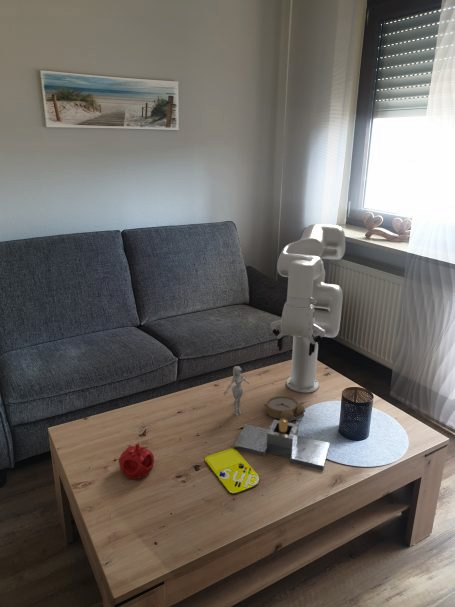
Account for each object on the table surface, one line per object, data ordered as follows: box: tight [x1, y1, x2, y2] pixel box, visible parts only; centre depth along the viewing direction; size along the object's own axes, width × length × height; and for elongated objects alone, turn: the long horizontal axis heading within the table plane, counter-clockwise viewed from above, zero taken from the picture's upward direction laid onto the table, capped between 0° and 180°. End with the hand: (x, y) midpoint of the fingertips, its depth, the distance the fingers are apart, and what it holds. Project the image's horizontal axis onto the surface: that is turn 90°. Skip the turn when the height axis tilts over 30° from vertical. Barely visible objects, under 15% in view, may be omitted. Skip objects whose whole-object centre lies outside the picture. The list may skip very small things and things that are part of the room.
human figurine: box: [223, 365, 250, 416], centre depth 168 cm, size 12×4×18 cm, turn 132°
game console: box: [204, 448, 260, 496], centre depth 142 cm, size 18×11×2 cm, turn 30°
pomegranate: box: [118, 441, 155, 480], centre depth 139 cm, size 10×10×9 cm
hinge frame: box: [233, 419, 330, 471], centre depth 151 cm, size 12×28×7 cm, turn 70°
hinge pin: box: [278, 418, 289, 435], centre depth 151 cm, size 3×3×10 cm
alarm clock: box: [263, 395, 306, 423], centre depth 170 cm, size 11×5×15 cm
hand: (295, 351), depth 153 cm, fingers open, 9 cm apart
